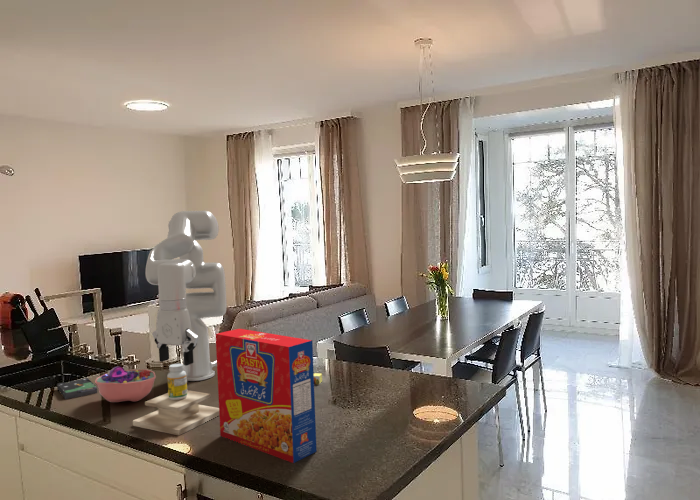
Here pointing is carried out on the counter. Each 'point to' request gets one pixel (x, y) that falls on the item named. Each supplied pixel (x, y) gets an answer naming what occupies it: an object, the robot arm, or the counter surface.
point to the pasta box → (267, 392)
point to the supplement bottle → (177, 382)
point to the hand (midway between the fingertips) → (176, 362)
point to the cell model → (125, 384)
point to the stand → (177, 413)
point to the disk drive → (77, 388)
